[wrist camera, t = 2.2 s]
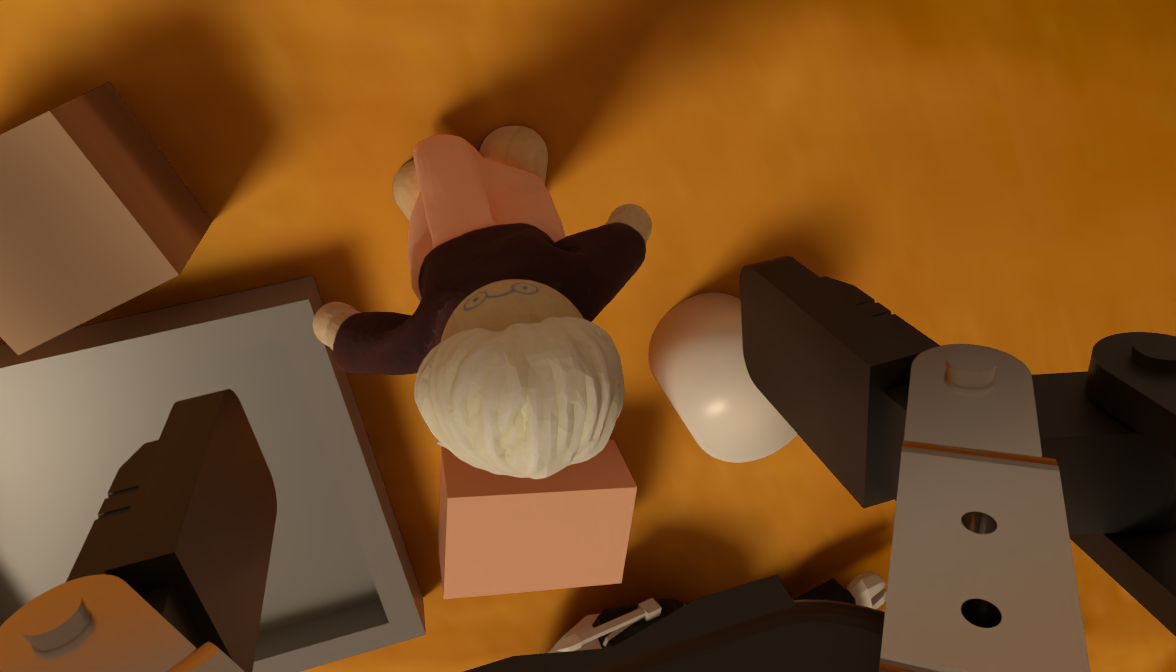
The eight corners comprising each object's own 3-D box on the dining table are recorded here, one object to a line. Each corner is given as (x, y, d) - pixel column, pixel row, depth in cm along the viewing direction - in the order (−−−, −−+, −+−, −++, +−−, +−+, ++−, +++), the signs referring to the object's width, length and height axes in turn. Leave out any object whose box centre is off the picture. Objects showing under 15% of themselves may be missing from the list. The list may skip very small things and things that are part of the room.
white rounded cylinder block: (756, 279, 26) (815, 331, 22) (760, 381, 28) (815, 443, 24) (642, 307, 25) (685, 365, 22) (654, 408, 27) (695, 476, 24)
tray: (313, 275, 22) (308, 299, 20) (423, 598, 28) (425, 634, 27) (-193, 386, 20) (-238, 421, 19) (44, 707, 26) (24, 752, 25)
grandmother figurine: (545, 64, 21) (730, 189, 10) (603, 185, 23) (812, 402, 12) (298, 200, 21) (210, 475, 10) (376, 310, 23) (374, 643, 12)
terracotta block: (612, 436, 27) (637, 487, 25) (599, 526, 29) (621, 583, 26) (440, 443, 26) (447, 498, 23) (437, 538, 27) (443, 599, 25)
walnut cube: (110, 81, 19) (49, 110, 15) (212, 220, 21) (179, 275, 17) (-38, 154, 19) (-134, 200, 15) (78, 287, 21) (18, 355, 17)
